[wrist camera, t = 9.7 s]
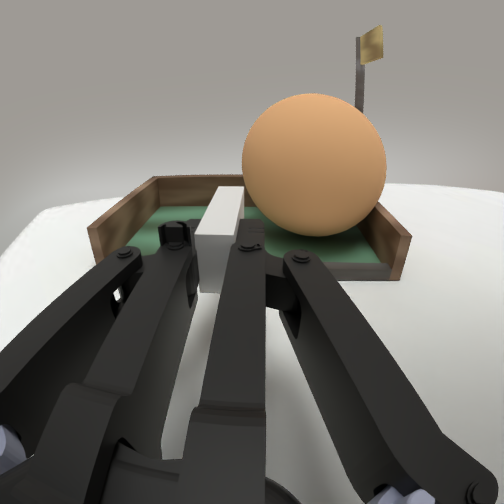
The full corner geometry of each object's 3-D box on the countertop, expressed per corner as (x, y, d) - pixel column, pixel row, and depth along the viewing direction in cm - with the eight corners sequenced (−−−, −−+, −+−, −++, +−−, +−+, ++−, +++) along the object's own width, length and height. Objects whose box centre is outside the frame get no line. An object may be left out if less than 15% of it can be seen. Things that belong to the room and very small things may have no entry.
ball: (239, 266, 23) (310, 239, 33) (395, 221, 15) (413, 206, 25) (194, 127, 23) (274, 140, 33) (315, 43, 15) (366, 93, 25)
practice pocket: (399, 280, 21) (429, 4, 10) (98, 270, 21) (74, 8, 11) (351, 210, 34) (362, 39, 23) (156, 206, 35) (148, 38, 24)
